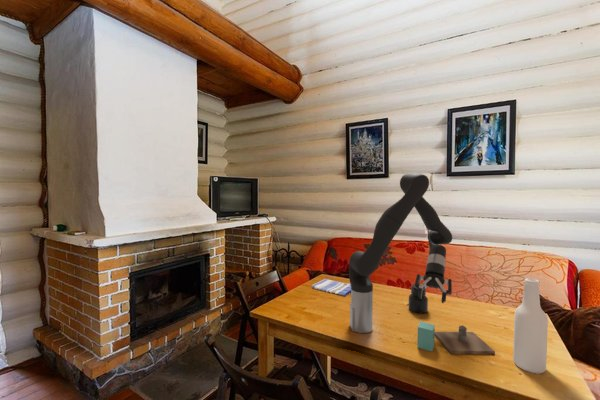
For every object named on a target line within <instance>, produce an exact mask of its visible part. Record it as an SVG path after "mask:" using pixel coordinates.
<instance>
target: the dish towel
mask: <svg viewBox="0 0 600 400" xmlns="http://www.w3.org/2000/svg"><path fill="white" fill-rule="evenodd" d="M313 288H314V289H315V290H317V289H318V290H317V291H320V290H322V291H321V292H324V291H326V292H325V293H328V292H330V293H329V294H332V293H335V294H334V295H336V294H339V295H338V296H340V295H343V296H342V297H347V296H348V295H350V294H351V283H348V282H340V281H337V280H333V279H328V278H324V279H322V280H320V281H318V282H315V283H313V284H312V285H311V289H313ZM349 293H350V294H349ZM347 294H348V295H347ZM346 295H347V296H346Z"/></svg>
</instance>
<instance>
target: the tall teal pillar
mask: <svg viewBox="0 0 600 400" xmlns="http://www.w3.org/2000/svg"><path fill="white" fill-rule="evenodd" d="M435 332H436V329H435V324H432V323H427V322H423V321H419V324H418V326H417V348H418V349H421V350H425V351H429V352H433V351H434V347H435V338H436V337H435Z"/></svg>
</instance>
